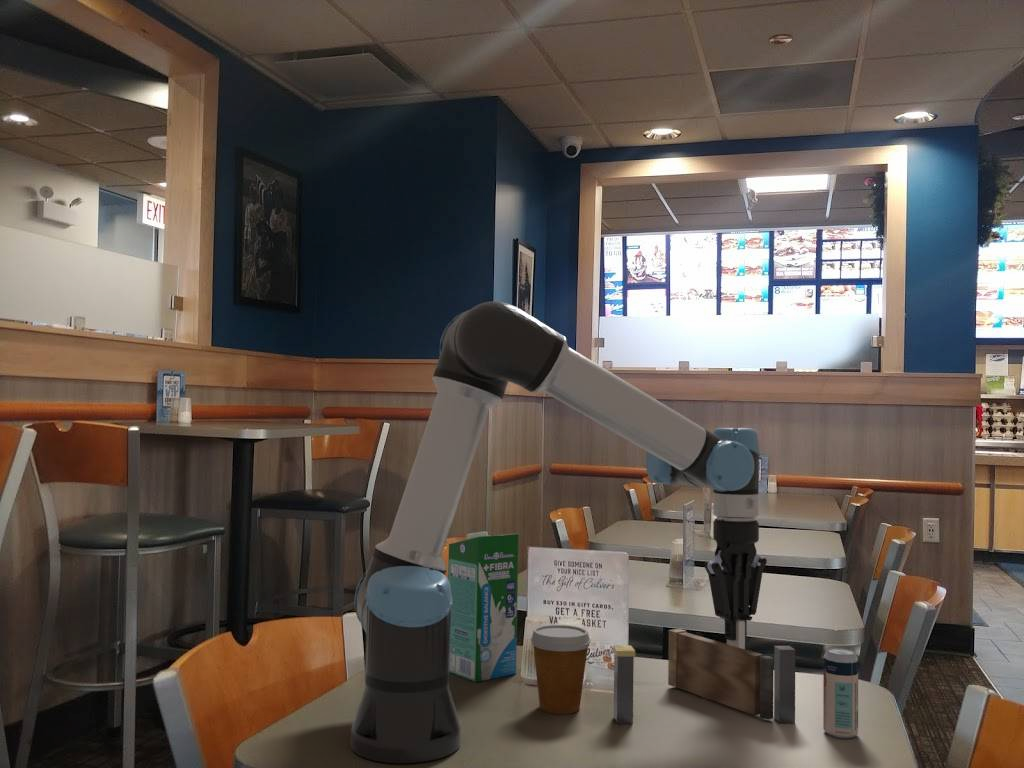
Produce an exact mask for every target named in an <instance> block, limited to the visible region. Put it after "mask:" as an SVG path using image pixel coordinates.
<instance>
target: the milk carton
mask: <svg viewBox="0 0 1024 768" xmlns="http://www.w3.org/2000/svg"><path fill="white" fill-rule="evenodd" d="M519 535H520V534H519V533H508V534H495V535H494V534H493V535H489V532H488V531H479V532H478V531H477V532H472V533H467V534H466V539H464V540H459V541H455V542H452V543H449V544H448V560H447V563H448V565H447V566H448V567H447V570H448V571H447V578H448V580H449V582H450V585H451V594H452V600H453V601H452V608H451V631H450V671H449V673H452V674H454V675H456V676H459V677H461V678H464V679H467V680H470V681H472V682H475V683H479V682H484V681H489V680H494V679H498V678H503V677H507V676H512V675H513V676H514V675H516V674H517V643H518V641H517V639H518V635H517V634H518V589H519V588H518V586H519V585H518V584H519V583H518V578H519Z"/></svg>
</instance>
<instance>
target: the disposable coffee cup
mask: <svg viewBox="0 0 1024 768" xmlns="http://www.w3.org/2000/svg"><path fill="white" fill-rule="evenodd" d="M532 632H533V633H532V635H531V636H530V642H531V644H532V646H533V652H534V653H533V654H534V664H535V673H536V674H535V675H536V683H537V685H536V686H537V694H538V703H539V708H540V710H541V711H543V712H546V713H550V714H556V715H568V714H573V713H577V712H579V711H580V708H581V700H582V693H583V686H584V676H585V671H586V663H587V657H588V656H587V654H588V650H589V647H590V644H591V641H592V639H591V638H590V637H589V636H590V634H589V631H588V630H587V629H586V628H583V627H580V626H575V625H567V624H551V625H550V624H549V625H542V626H540V625H539V626H538V627H536V628H534V629H533V631H532Z"/></svg>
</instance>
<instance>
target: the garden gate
mask: <svg viewBox="0 0 1024 768" xmlns="http://www.w3.org/2000/svg"><path fill="white" fill-rule="evenodd" d="M667 657H668V663H667V665H668V666H667V667H668V668H667V670H668V674H667V676H668V679H667V683H668V686H671V687H673V688H678V689H681V690H684V691H687V692H690V693H691V694H695V695H697V696H700V697H702V698H706V699H709V700H711V701H714V702H717V703H719V704H722V705H724V706H728V707H730V708H733V709H736V710H739V711H742V712H744V713H747V714H750V715H752V716H759V718H760V719H763V720H773V719H774V656H769V655H764V654H762V653H759V652H755V651H752V650H749V649H746V648H745V649H742V648H739V647H735V646H732V645H728V644H727V643H724V642H721V641H718V640H715V639H710V638H706V637H704V636H700V635H696V634H693V633H691V632H690V633H689V632H687V630H685V629H682V628H674V629H668V656H667Z"/></svg>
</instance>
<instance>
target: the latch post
mask: <svg viewBox="0 0 1024 768" xmlns="http://www.w3.org/2000/svg"><path fill="white" fill-rule="evenodd" d="M612 652H613V653H614V654H613V655H614V657H613V658H614V659H613V662H614V663H613V665H614V666H613V719H614V721H615V723H616V724H617V725H633V723H634V669H635V668H634V661H635V660H634V657H636V650H635V648H634V647H633V646H632V645H628V644H627V645H625V644H624V645H623V644H622V645H615V644H614V645H612Z"/></svg>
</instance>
